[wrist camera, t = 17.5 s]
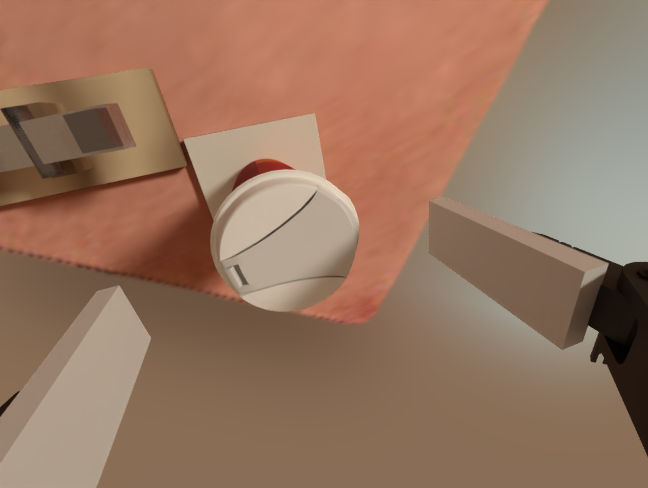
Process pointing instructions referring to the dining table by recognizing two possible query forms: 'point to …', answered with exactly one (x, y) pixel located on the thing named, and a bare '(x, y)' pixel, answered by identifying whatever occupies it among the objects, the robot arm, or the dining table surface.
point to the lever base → (146, 158)
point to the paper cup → (284, 237)
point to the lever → (60, 137)
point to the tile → (253, 153)
